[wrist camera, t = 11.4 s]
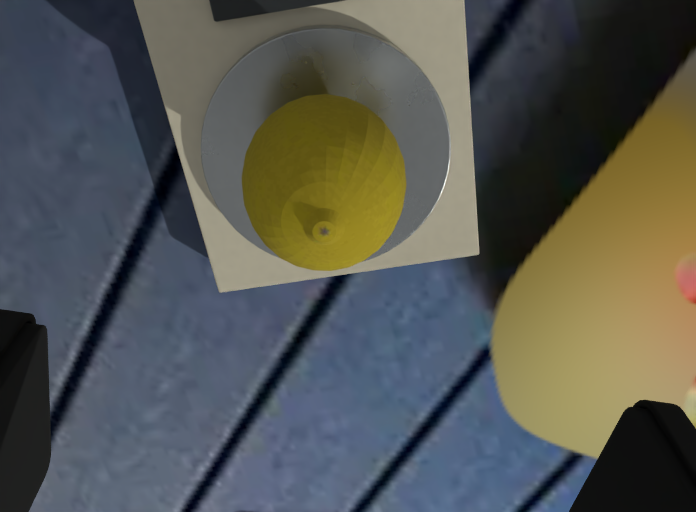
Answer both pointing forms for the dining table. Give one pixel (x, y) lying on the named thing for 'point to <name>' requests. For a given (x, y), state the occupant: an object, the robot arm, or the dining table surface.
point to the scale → (314, 79)
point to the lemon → (323, 182)
